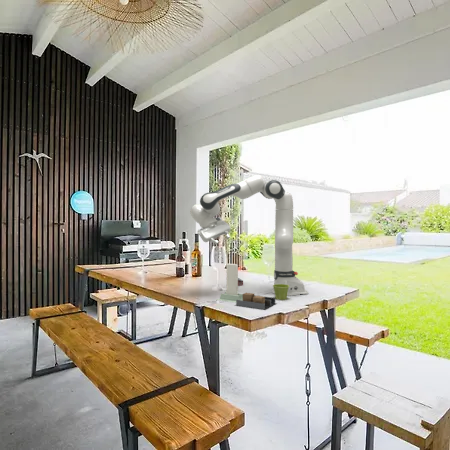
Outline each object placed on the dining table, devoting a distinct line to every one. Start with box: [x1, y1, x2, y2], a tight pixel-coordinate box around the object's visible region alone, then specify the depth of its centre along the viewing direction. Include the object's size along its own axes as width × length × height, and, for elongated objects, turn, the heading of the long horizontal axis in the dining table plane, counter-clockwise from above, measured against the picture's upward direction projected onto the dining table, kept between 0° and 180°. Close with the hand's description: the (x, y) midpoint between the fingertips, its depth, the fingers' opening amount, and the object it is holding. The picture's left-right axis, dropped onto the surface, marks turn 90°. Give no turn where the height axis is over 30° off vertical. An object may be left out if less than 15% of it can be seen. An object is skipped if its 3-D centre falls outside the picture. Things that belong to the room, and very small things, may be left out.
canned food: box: [238, 277, 244, 287], centre depth 250 cm, size 11×10×10 cm
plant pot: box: [272, 284, 289, 301], centre depth 203 cm, size 9×9×9 cm
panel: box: [225, 263, 239, 296], centre depth 201 cm, size 2×6×20 cm, turn 59°
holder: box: [215, 291, 244, 304], centre depth 201 cm, size 12×14×4 cm
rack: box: [233, 294, 278, 311], centre depth 189 cm, size 16×18×4 cm
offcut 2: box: [253, 295, 266, 303], centre depth 185 cm, size 4×5×5 cm
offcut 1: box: [242, 292, 255, 302], centre depth 188 cm, size 4×5×6 cm
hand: (223, 240), depth 210 cm, fingers open, 8 cm apart
